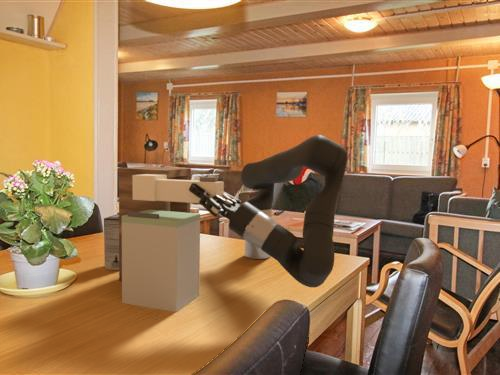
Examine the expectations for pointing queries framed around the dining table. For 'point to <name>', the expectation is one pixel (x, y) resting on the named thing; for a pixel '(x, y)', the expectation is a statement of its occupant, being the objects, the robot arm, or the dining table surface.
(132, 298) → the green-lidded white box
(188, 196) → the stepped cream block
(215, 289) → the dining table surface
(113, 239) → the coffee box
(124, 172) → the walnut bridge
